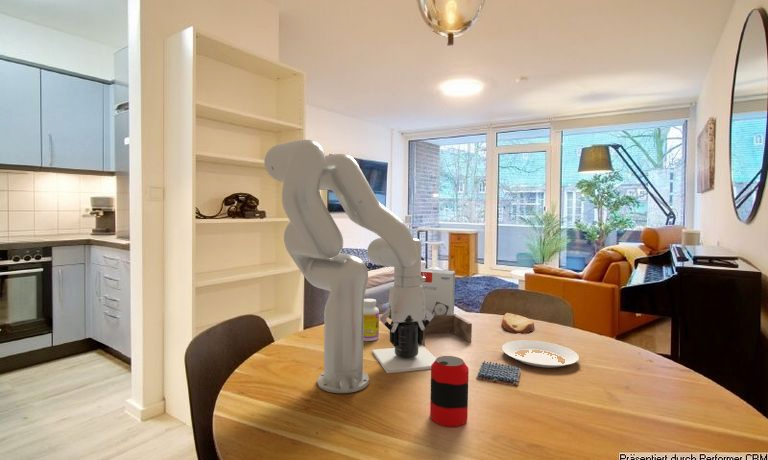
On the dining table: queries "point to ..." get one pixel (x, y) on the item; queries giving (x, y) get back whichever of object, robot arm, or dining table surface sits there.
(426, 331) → the shelf bay
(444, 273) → the hard drive box
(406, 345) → the supplement bottle
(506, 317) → the slice of bread
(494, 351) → the dining table surface
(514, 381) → the woven mat
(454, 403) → the soda can
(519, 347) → the plate
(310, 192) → the robot arm
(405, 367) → the white square board
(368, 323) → the supplement bottle
